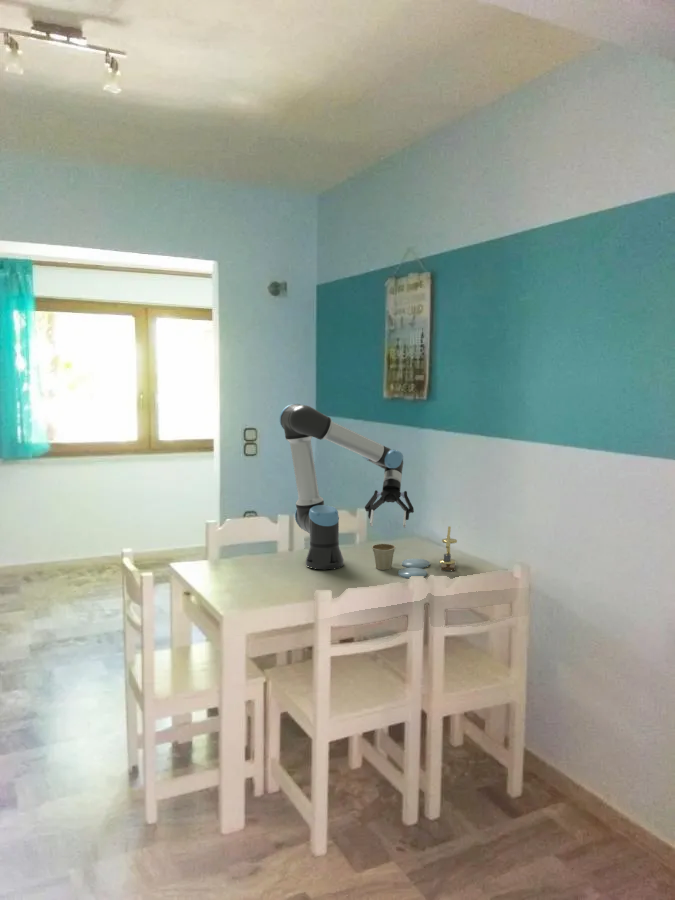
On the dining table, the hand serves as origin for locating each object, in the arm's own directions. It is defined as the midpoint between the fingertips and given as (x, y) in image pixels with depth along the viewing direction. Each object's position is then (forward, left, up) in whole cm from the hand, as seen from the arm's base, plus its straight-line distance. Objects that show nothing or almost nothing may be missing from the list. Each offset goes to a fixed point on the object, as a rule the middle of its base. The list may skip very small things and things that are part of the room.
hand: (387, 525), depth 283 cm
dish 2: (+12, -4, -15) cm, 19 cm away
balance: (+25, -7, -15) cm, 30 cm away
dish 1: (+12, -17, -15) cm, 26 cm away
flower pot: (0, -11, -15) cm, 18 cm away
